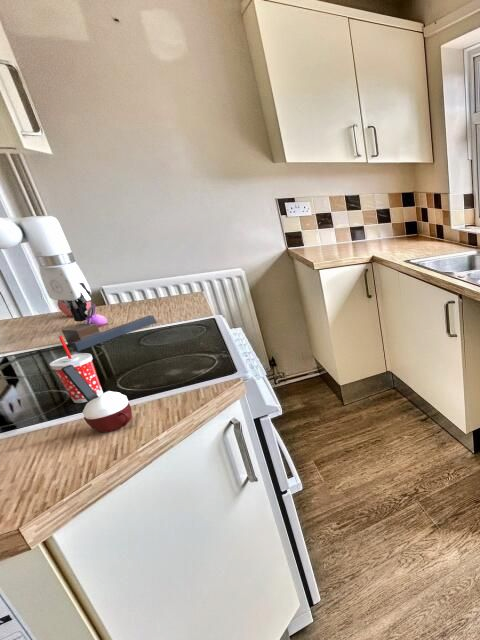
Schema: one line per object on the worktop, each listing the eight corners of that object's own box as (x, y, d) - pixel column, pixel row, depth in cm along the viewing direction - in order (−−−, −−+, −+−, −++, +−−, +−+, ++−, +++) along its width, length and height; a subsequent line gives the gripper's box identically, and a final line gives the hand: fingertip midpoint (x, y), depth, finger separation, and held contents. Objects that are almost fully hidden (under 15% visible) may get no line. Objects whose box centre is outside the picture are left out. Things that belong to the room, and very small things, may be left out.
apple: (101, 312, 141) (91, 289, 138) (76, 320, 135) (66, 296, 131) (83, 311, 142) (73, 288, 139) (58, 319, 136) (47, 295, 133)
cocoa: (142, 426, 78) (118, 368, 73) (97, 443, 73) (68, 382, 69) (128, 410, 83) (104, 355, 79) (85, 425, 79) (57, 367, 74)
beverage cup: (77, 394, 90) (48, 333, 84) (113, 388, 92) (87, 328, 86) (62, 408, 84) (30, 344, 79) (100, 402, 86) (71, 339, 81)
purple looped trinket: (90, 302, 129) (84, 310, 122) (113, 305, 132) (108, 312, 125) (88, 323, 130) (82, 332, 123) (111, 325, 133) (107, 333, 127)
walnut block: (69, 346, 114) (61, 329, 112) (88, 339, 119) (81, 323, 117) (84, 347, 113) (76, 330, 111) (103, 340, 118) (96, 324, 116)
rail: (73, 351, 111) (69, 342, 110) (152, 322, 131) (149, 315, 130) (78, 351, 111) (74, 343, 110) (156, 323, 131) (153, 315, 130)
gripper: (20, 262, 119) (49, 323, 126) (63, 263, 117) (90, 325, 124) (50, 257, 126) (76, 315, 133) (92, 258, 124) (116, 316, 131)
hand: (83, 319), depth 129 cm, fingers closed
